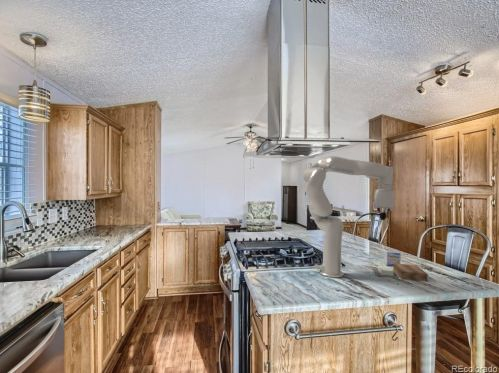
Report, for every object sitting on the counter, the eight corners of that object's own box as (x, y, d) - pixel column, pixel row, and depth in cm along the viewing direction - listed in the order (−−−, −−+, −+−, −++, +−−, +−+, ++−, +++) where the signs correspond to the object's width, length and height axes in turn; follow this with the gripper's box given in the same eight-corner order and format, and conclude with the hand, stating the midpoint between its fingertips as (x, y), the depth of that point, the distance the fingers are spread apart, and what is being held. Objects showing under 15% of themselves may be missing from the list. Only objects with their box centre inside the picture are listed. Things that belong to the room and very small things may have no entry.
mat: (377, 276, 149) (377, 275, 149) (371, 268, 162) (371, 268, 162) (399, 278, 146) (399, 277, 146) (392, 270, 160) (392, 269, 160)
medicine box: (386, 266, 168) (386, 252, 168) (384, 264, 173) (385, 250, 173) (400, 267, 167) (400, 253, 166) (398, 265, 171) (398, 251, 171)
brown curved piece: (401, 279, 145) (402, 271, 145) (393, 270, 160) (393, 263, 160) (427, 281, 142) (427, 273, 142) (416, 272, 158) (416, 265, 158)
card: (393, 271, 149) (393, 275, 149) (389, 266, 158) (389, 270, 158) (381, 270, 151) (381, 274, 151) (378, 265, 159) (377, 269, 159)
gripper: (397, 188, 158) (395, 220, 158) (369, 187, 162) (367, 218, 162) (401, 188, 151) (398, 221, 151) (371, 187, 155) (369, 219, 155)
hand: (382, 219), depth 156 cm, fingers closed
